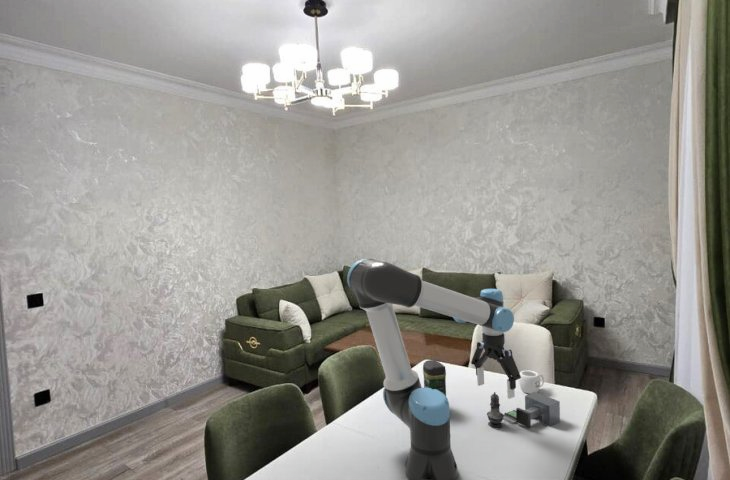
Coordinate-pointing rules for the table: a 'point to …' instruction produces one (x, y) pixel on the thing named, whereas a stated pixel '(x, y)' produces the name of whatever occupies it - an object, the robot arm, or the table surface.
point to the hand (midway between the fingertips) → (495, 390)
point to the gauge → (546, 403)
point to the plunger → (526, 415)
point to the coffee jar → (434, 376)
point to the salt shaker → (495, 413)
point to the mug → (530, 381)
